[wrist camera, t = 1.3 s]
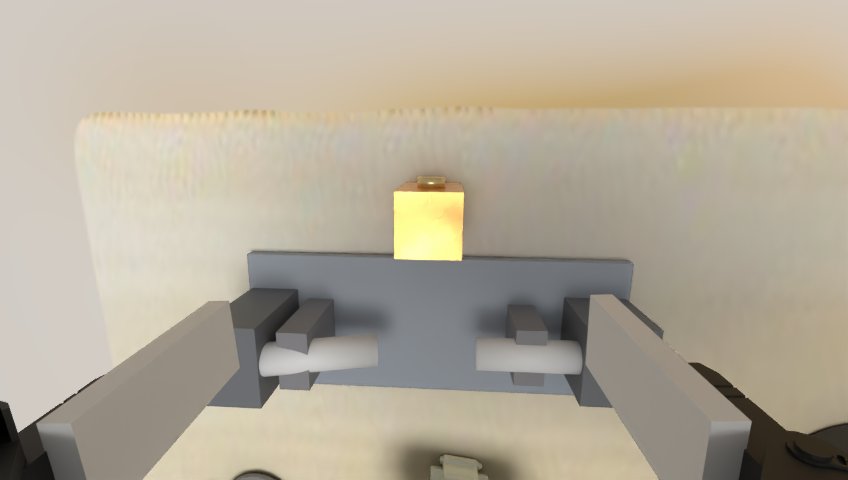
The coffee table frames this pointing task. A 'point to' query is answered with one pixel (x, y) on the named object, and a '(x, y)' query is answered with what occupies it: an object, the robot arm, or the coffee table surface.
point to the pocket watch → (254, 477)
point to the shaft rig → (419, 324)
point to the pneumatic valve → (457, 469)
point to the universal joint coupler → (428, 220)
